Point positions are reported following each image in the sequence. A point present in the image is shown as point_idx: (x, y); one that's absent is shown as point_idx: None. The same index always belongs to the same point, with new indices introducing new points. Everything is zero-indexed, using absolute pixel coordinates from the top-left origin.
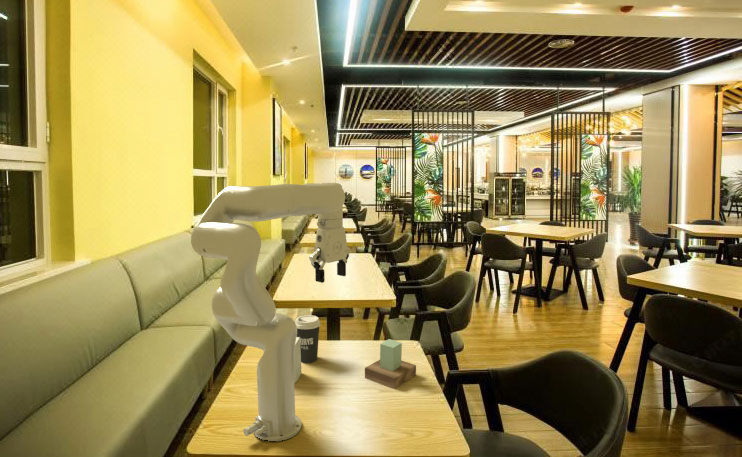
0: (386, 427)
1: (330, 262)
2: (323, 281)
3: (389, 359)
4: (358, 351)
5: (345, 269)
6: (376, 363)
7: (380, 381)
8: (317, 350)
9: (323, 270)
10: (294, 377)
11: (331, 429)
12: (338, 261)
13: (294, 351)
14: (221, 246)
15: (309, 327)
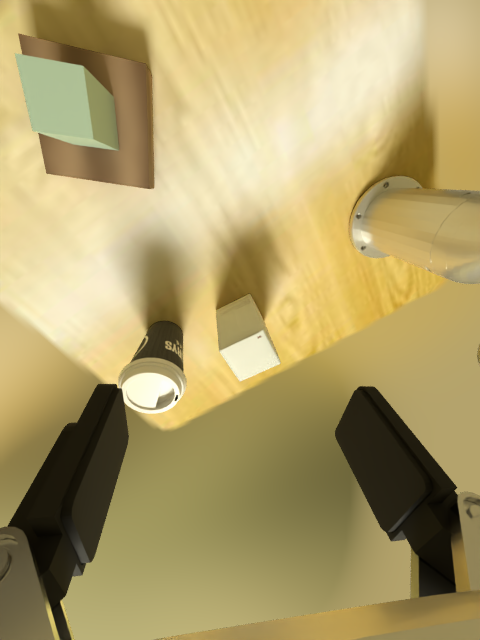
0: None
1: (467, 592)
2: (374, 390)
3: (103, 101)
4: (60, 280)
5: (76, 437)
6: (108, 173)
7: (152, 131)
8: (152, 331)
9: (445, 479)
10: (252, 299)
11: (363, 123)
12: (60, 593)
13: (261, 323)
14: None
15: (171, 366)
